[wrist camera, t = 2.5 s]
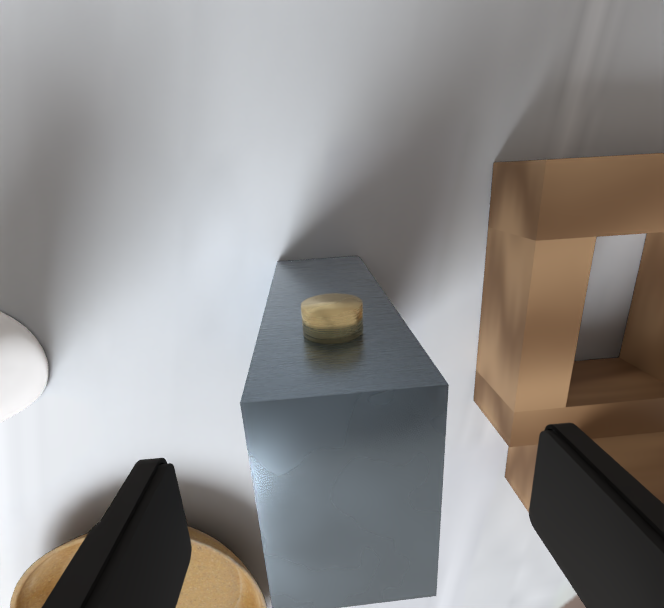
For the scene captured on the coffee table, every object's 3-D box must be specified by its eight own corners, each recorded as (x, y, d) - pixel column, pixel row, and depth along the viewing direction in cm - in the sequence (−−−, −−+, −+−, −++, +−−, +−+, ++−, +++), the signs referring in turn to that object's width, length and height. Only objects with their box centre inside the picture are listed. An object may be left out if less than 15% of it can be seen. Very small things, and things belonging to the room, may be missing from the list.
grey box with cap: (275, 245, 18) (234, 365, 7) (358, 239, 18) (450, 347, 7) (288, 369, 20) (273, 615, 9) (361, 363, 21) (436, 595, 9)
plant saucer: (92, 669, 27) (71, 718, 25) (-5, 521, 22) (-43, 564, 20) (291, 627, 28) (290, 672, 25) (238, 472, 23) (231, 508, 20)
